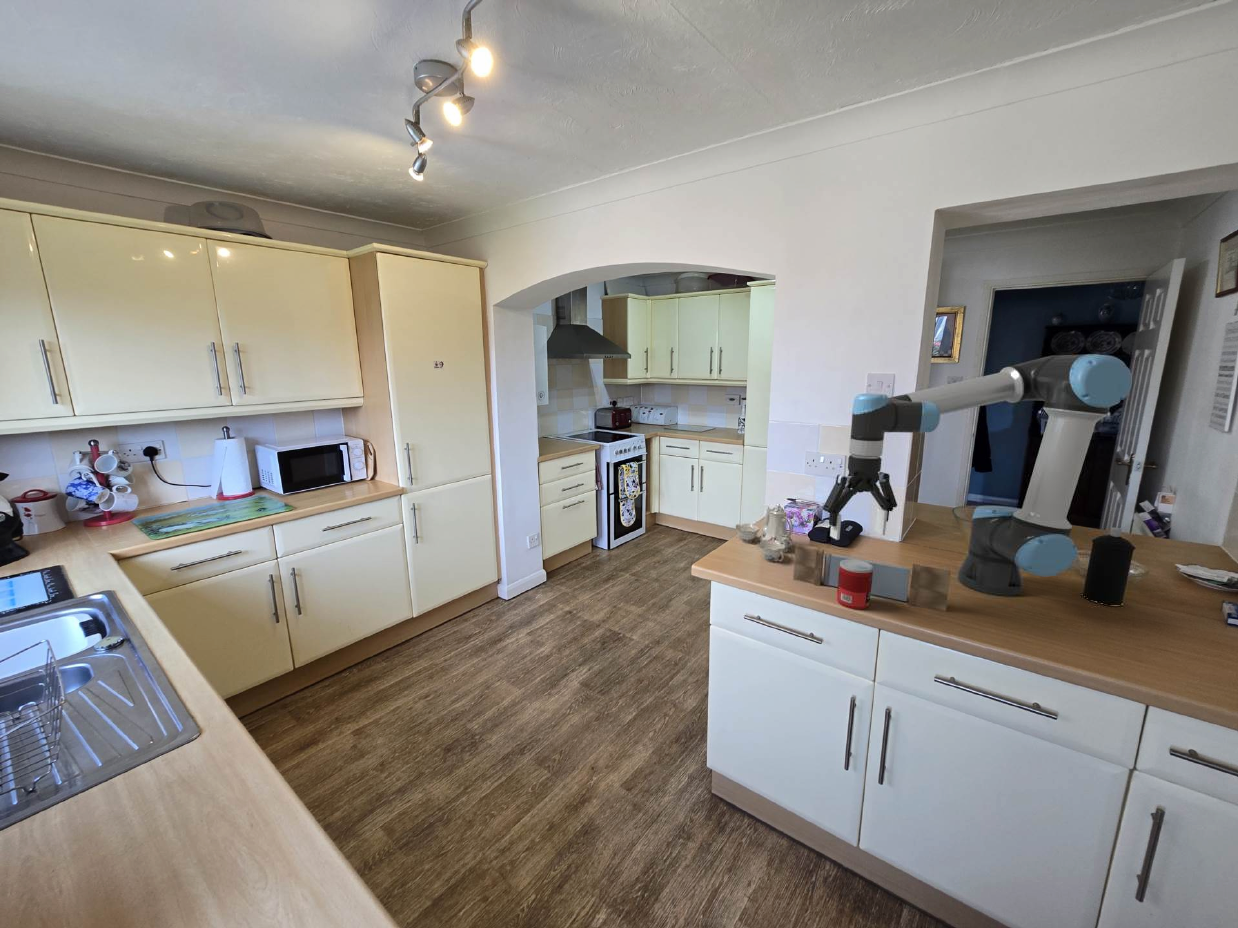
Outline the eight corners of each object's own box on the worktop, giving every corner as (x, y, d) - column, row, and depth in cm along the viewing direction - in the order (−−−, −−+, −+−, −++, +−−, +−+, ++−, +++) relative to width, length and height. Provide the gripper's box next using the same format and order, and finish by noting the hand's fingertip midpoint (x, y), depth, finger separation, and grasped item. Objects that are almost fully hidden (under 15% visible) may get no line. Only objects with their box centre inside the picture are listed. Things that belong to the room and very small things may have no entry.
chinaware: (727, 542, 183) (724, 499, 179) (766, 533, 187) (765, 491, 183) (771, 572, 156) (769, 523, 153) (816, 560, 161) (815, 512, 157)
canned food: (873, 611, 128) (877, 571, 126) (840, 608, 130) (843, 569, 128) (864, 597, 136) (868, 560, 133) (833, 595, 137) (836, 558, 135)
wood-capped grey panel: (945, 607, 130) (950, 570, 128) (945, 612, 127) (950, 574, 125) (795, 576, 149) (797, 543, 147) (792, 580, 147) (795, 546, 145)
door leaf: (906, 599, 134) (910, 567, 132) (906, 601, 132) (910, 570, 130) (823, 581, 145) (825, 552, 143) (822, 584, 143) (824, 554, 141)
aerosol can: (1109, 608, 128) (1124, 535, 124) (1073, 594, 136) (1086, 525, 132) (1131, 604, 131) (1147, 532, 127) (1094, 590, 138) (1108, 522, 134)
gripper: (896, 450, 131) (887, 527, 136) (812, 455, 126) (806, 534, 130) (918, 455, 124) (909, 536, 128) (830, 461, 119) (824, 544, 123)
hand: (857, 535), depth 129 cm, fingers open, 13 cm apart
